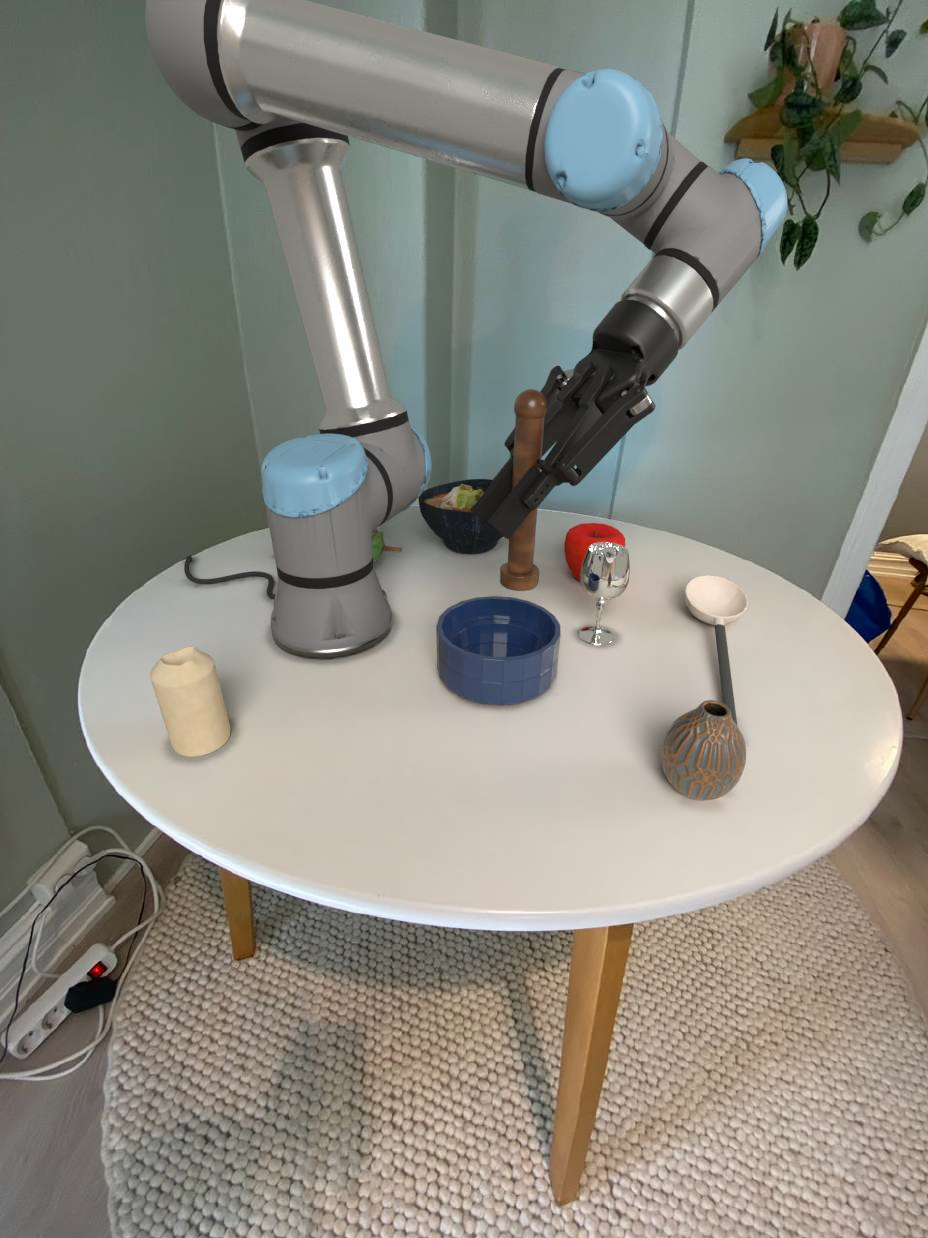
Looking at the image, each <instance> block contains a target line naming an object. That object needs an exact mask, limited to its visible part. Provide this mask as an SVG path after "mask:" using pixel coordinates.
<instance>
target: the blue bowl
mask: <svg viewBox="0 0 928 1238" xmlns="http://www.w3.org/2000/svg"><path fill="white" fill-rule="evenodd" d="M435 627H436V628H435V630H436V632H435V633H436V669H437V674H438V677H439V679H440V681H441V682H442V683H443V684H444V685H445V687H446V688H447V689H448V690H450V691H451V692H453V693H454V694H456V695H458V696H459V697H461V698H463V699H466V700H470V701H473V702H476V703H479V704H484V705H485V704H486V705H496V706H497V705H498V706H503V705H512V704H513V705H514V704H520V703H524V702H527V701H530V700H533V699H537V698H538V697H540V696H541V695H543V694H544V693H545V692H546V691H548V690H549V689H550V688H551V687H552V685H553V684H554V681H555V680H556V679H557V672H558V661H559V652H560V643H561V635H562V634H561V624H560V622H559V621H558V619H557V617H556V616H555V615H554V614H553V613H552V612H551V611H549V610H548V609H546V608H545V607H543V606H541V605H539V604H536V603H534V602H532V601H529V600H525V599H522V598H518V597H511V596H499V595H498V596H497V595H490V596H489V595H488V596H481V597H480V596H477V597H472V598H468V599H465V600H461V601H459V602H457V603H454V604H453V605H451V606H449V607H448V608H446V609H445V610H444V611H443V612H442V613H441V614H440V615H439V616H438V619H437V623H436V626H435Z"/></svg>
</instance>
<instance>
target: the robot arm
mask: <svg viewBox="0 0 928 1238" xmlns="http://www.w3.org/2000/svg"><path fill="white" fill-rule="evenodd" d="M144 18H145V21H144V22H145V31H146V36H147V40H148V44H149V49H150V52H151V54H152V57H153V59H154V62H155V64H156V67H157V68H158V70H159V73H160V74H161V76H162V78H163V79H164V82H165V83H166V84H167V85H168V87H169V89H171V91H172V92H173V94H174V95H175V96H176V97H177V98H178V99H179V100H180V101H181V102H182V103H183V104H184V105H185V106H186V107H187V108H188V109H190V110H191V111H192V112H194V113H195V114H196V115H197V116H199V117H202V118H204V119H206V120H207V121H209V122H211V123H214V124H216V125H220V126H222V127H225V128H229V129H232V130H234V132H235V134H236V138H237V141H238V145H239V149H240V153H241V156H242V159H243V162H244V166H245V170H246V171H247V172H248V174H250V175H251V176H253V177H254V178H255V179H257V180H258V181H259V182H261V183H262V185H263V186H264V187H265V191H266V195H267V197H268V200H269V205H270V209H271V212H272V216H273V220H274V223H275V227H276V230H277V235H278V238H279V241H280V245H281V249H282V253H283V256H284V261H285V263H286V267H287V272H288V275H289V279H290V283H291V286H292V290H293V294H294V298H295V301H296V306H297V309H298V312H299V316H300V319H301V320H300V321H301V323H302V326H303V330H304V334H305V339H306V342H307V346H308V349H309V353H310V357H311V360H312V364H313V368H314V372H315V375H316V379H317V382H318V386H319V389H320V393H321V397H322V401H323V404H324V408H325V410H324V413H323V415H322V418H321V419H320V421H319V423H318V425H317V427H318V431H319V433H315V434H314V433H313V434H309V435H307V436H305V437H295V438H292V439H289V440H287V441H284V442H281V443H280V444H278V445H276V446H275V447H273V448H272V449H270V450H269V452H268V453H267V454H266V455H265V457H264V458H263V461H262V463H261V479H262V480H261V481H262V486H261V495H262V499H263V502H264V505H265V511H266V517H267V522H268V527H269V534H270V540H271V545H272V550H273V556H274V561H275V562H274V563H275V567H276V573H277V584H276V589H275V593H273V587H274V577H273V576H272V575H271V573H268V572H264V571H258V570H257V571H255V570H253V571H244V572H239V573H234V574H229V575H225V576H219V577H214V578H199V577H194V575H192V573H191V570H190V567H191V562H192V559H193V556H192V555H187V556H186V558H185V560H184V565H183V567H184V568H183V570H184V574H185V576H186V578H187V579H188V580H189V581H190V582H192V583H195V584H198V585H199V584H200V585H211V584H219V583H224V582H229V581H233V580H238V579H242V578H248V577H262V578H265V579H267V581H268V582H267V587H266V596H267V597H268V598H269V599H271V600H273V605H272V606H273V608H272V611H271V615H270V631H271V637H272V639H273V642H274V643H275V645H276V646H277V647H278V648H279V649H280V650H282V651H284V652H285V653H288V654H289V655H293V656H295V657H299V658H303V659H312V660H334V659H341V658H347V657H351V656H354V655H358V654H360V653H363V652H366V651H368V650H371V649H372V648H374V647H376V646H378V645H379V644H380V643H382V642H383V641H384V640H386V638H387V637H388V635H389V634H390V632H391V629H392V628H393V614H392V610H391V606H390V602H389V601H388V598H389V597H388V595H387V592H386V590H384V589H383V588H382V585H381V582H380V581H379V578H378V576H377V573H376V571H375V563H374V561H373V548H372V532H373V531H374V530H378V529H379V528H380V527H381V526H382V525H384V524H385V523H387V522H389V521H390V520H391V519H392V518H394V517H395V516H397V515H399V514H400V513H401V512H404V511H406V510H407V509H409V508H410V507H411V506H412V505H414V503H415V502H416V501H417V500H418V499H419V498H418V497H419V496H420V495H421V494H422V493H423V492H424V491H425V490H426V489H427V486H428V484H429V482H430V480H431V474H432V467H433V466H432V464H433V463H432V455H431V452H430V448H429V446H428V443H427V441H426V439H425V438H424V437H423V435H422V434H421V433H420V432H418V431H417V430H416V429H415V427H414V426H412V425H411V423H410V418H409V415H408V410H407V407H406V405H404V404H403V403H401V402H400V401H399V400H398V399H396V398H394V397H393V395H392V392H391V388H390V383H389V378H388V374H387V369H386V365H385V360H384V356H383V351H382V347H381V343H380V338H379V334H378V333H379V332H378V329H377V325H376V319H375V316H374V312H373V307H372V302H371V298H370V294H369V290H368V285H367V280H366V275H365V271H364V267H363V261H362V258H361V257H362V256H361V254H360V248H359V244H358V239H357V236H356V235H357V234H356V231H355V227H354V226H355V225H354V222H353V217H352V212H351V207H350V204H349V199H348V194H347V189H346V185H345V181H344V176H343V171H344V167H345V166H346V164H347V162H348V160H349V158H350V157H351V154H352V149H351V144H350V139H349V137H351V138H353V139H357V140H360V141H364V142H368V143H370V144H374V145H377V146H381V147H383V148H387V149H391V150H393V151H397V152H400V153H404V154H407V155H410V156H414V157H417V158H420V159H425V160H427V161H431V162H434V163H437V164H440V165H443V166H448V167H451V168H454V169H458V170H461V171H463V172H467V173H471V174H474V175H478V176H481V177H485V178H487V179H490V180H494V181H497V182H501V183H505V184H507V185H511V186H515V187H518V188H520V189H524V190H528V191H530V192H534V193H537V194H538V195H542V196H544V197H547V198H552V199H555V200H558V201H562V202H564V203H568V204H571V205H572V206H576V207H577V208H580V209H583V210H584V209H585V210H589V211H590V212H591V211H592V212H596V213H598V214H600V215H603V216H605V217H608V218H610V220H612V221H614V223H616V224H617V225H619V226H620V227H621V228H622V229H624V230H625V231H626V232H627V233H629V234H630V235H631V236H632V237H634V238H635V239H636V240H638V242H640V243H641V244H642V245H643V246H644V247H645V248H647V249H648V250H649V251H651V252H652V253H653V254H654V255H653V256H652V258H651V259H650V260H649V261H648V262H647V264H646V265H645V266H644V267H643V269H642V270H640V272H639V273H638V274H637V276H636V277H635V278H634V280H632V282H631V283H630V284H629V285H628V286H627V288H626V289H625V290H624V291H623V293H622V294H621V297H620V300H619V301H617V302H616V303H614V305H613V306H612V307H611V308H610V310H609V311H608V312H607V313H606V315H605V316H604V317H603V318H602V320H601V321H600V322H599V324H598V325H597V326H596V327H595V328H594V330H593V332H592V343H591V344H592V346H591V350H590V352H589V353H588V354H586V355H585V356H584V357H583V358H581V359H580V360H579V361H578V362H577V363H576V364H575V366H574V368H570V369H568V370H563V368H562V367H561V366H560V365H556V366H554V367H552V368H551V369H550V371H549V374H548V376H547V379H546V381H545V384H544V385H543V387H542V388H541V389H540V392H541V393H542V394H543V395H544V396H545V398H546V400H547V404H548V409H547V413H546V415H545V419H544V432H543V444H542V457H544V456H545V455H546V453H548V454H547V455H546V457H545V458H544V459H542V458H541V459H537V460H536V464H537V466H538V467H539V468H540V469H541V470H540V471H539V470H538V469H537V468H536V467H533V466H532V467H531V468H530V469H529V470H528V472H527V473H526V474H525V475H524V476H523V478H522V479H521V480H520V481H519V483H518V484H517V485H516V486H515V488H514V489H513V490H512V475H513V457H514V439H515V427H514V428H513V429H512V430H511V432H510V434H509V435H508V437H507V438H506V439H505V441H504V443H503V444H504V447H505V448H506V449H507V451H508V452H509V458H508V460H507V461H506V463H504V465H503V466H502V467H501V468H500V470H499V471H498V472H497V473H496V474H495V476H494V477H493V478H492V479H491V480H492V482H491V485H490V486H489V487H488V488H487V490H486V491H485V492H484V493H483V495H482V496H481V497H480V498H479V500H478V501H477V502H476V503H475V505H474V506H473V507H472V508H471V511H472V512H473V513H474V514H475V515H476V516H477V517H478V518H479V519H480V520H481V521H482V522H483V523H484V524H486V525H487V526H488V527H490V528H491V526H493V527H494V528H495V529H496V530H497V531H498V532H499V533H500V534H501V535H502V536H503V537H502V538H505V539H506V540H509V538H510V537H511V535H512V534H513V533H514V532H515V530H516V529H517V528H518V527H519V525H520V524H521V523H522V522H523V521H524V519H525V518H526V517H527V516H528V514H529V513H530V512H531V511H534V510H535V509H536V508H537V509H538V508H539V507H540V505H541V504H542V503H543V502H544V501H545V499H546V498H547V497H548V496H549V495H550V493H551V492H552V491H553V490H554V488H556V487H559V486H561V485H562V484H569V485H570V486H572V487H576V486H577V485H579V484H580V483H581V482H582V481H583V480H584V479H585V478H586V477H587V475H589V473H590V472H591V471H592V470H593V469H595V467H596V466H597V465H598V464H599V463H600V462H601V461H602V460H603V459H604V458H605V457H606V456H607V454H608V453H609V452H610V451H611V450H613V448H614V447H615V446H616V445H617V444H618V443H619V442H620V441H621V439H623V438H624V436H625V435H626V434H627V433H629V431H630V430H631V429H632V428H633V427H634V426H635V425H636V424H638V423H639V422H640V421H642V420H643V419H645V418H646V417H648V416H650V414H652V413H653V412H654V411H655V409H656V407H657V406H656V404H655V401H654V400H653V399H652V397H651V395H650V393H649V392H648V390H647V389H646V387H649V386H652V385H654V384H656V382H657V381H658V380H659V379H660V378H661V377H662V375H663V374H664V373H665V372H666V370H667V369H668V368H669V367H670V365H671V364H672V363H673V361H674V360H675V359H676V358H677V356H678V354H679V351H680V350H682V349H683V348H684V347H685V346H686V345H687V344H688V343H689V342H690V340H691V339H692V338H693V336H694V335H695V334H696V333H697V331H698V330H699V329H700V328H701V327H702V325H703V324H704V323H705V321H706V320H707V319H708V318H709V317H710V316H711V315H712V313H713V312H714V311H715V310H716V308H717V307H718V306H719V305H720V304H721V302H722V301H723V300H724V299H725V298H726V296H727V295H728V294H729V293H730V292H731V290H733V288H734V287H735V286H736V285H737V283H738V282H739V281H740V280H741V279H742V277H743V276H744V275H745V274H746V273H747V272H748V270H749V269H750V268H751V267H752V265H753V264H754V263H755V262H756V261H757V259H758V258H759V256H760V255H762V253H763V251H764V250H765V248H766V247H767V246H768V244H769V243H770V242H771V240H772V239H773V238H774V236H775V235H776V234H777V233H778V231H779V229H780V228H781V226H782V224H783V223H784V220H785V218H786V215H787V211H788V194H787V190H786V187H785V184H784V182H783V180H782V178H781V177H780V176H779V174H778V173H777V172H776V171H775V170H774V169H773V168H772V167H771V166H770V165H768V164H766V163H765V162H763V161H761V162H754V161H753V160H752V158H740V159H736V160H734V161H732V162H729V163H728V164H727V165H726V166H725V167H724V168H723V169H721V170H720V171H718V172H717V170H715V169H714V167H711V166H710V165H707V163H706V162H704V161H701V160H700V159H699V158H698V157H697V156H696V155H695V154H694V153H693V152H691V151H690V150H689V149H688V148H687V147H685V146H684V145H683V143H681V141H679V140H678V139H677V138H676V137H674V136H673V135H672V134H671V132H669V131H668V130H667V127H666V126H665V124H664V122H663V121H662V118H661V114H660V111H659V107H658V105H657V103H656V100H655V98H654V97H653V95H652V93H651V92H650V90H649V89H646V88H645V87H644V85H643V84H642V82H641V81H640V80H638V79H636V78H635V77H632V76H631V75H629V74H628V73H626V72H624V71H622V70H618V69H616V68H615V69H614V68H599V69H596V70H593V71H589V72H587V73H585V72H581V71H577V70H571V69H565V68H561V67H560V66H558V65H554V64H551V63H546V62H543V61H538V60H535V59H531V58H527V57H523V56H519V55H516V54H512V53H508V52H505V51H500V50H496V49H492V48H489V47H486V46H481V45H478V44H474V43H469V42H466V41H463V40H458V39H454V38H451V37H447V36H443V35H439V34H435V33H431V32H428V31H425V30H424V31H423V30H420V29H417V28H412V27H408V26H405V25H402V24H397V23H393V22H390V21H386V20H382V19H378V18H374V17H370V16H367V15H363V14H360V13H355V12H352V11H348V10H344V9H340V8H336V7H332V6H328V5H325V4H321V3H317V2H313V1H310V0H145V9H144ZM575 467H576V468H575Z"/></svg>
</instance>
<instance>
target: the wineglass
mask: <svg viewBox="0 0 928 1238" xmlns="http://www.w3.org/2000/svg"><path fill="white" fill-rule="evenodd" d="M630 574H631V564H630V554H629V550H628V548H627V547H626V546H625V547H624V546H622V545H619V544H616V543H611V542H598V543H593V544H591V545H590V546H589V548H588V550H587V552H586V555H585V558H584V561H583V564H582V568H581V574H580V581H579V582H580V585H581V588H582V590H583V591H584V593H586V595H588V596H589V597H591V598H593V599H596V600H597V601H596V604H595V607H596V619H595V620H596V621H595V625H591V626H585V627H583V628H581V629H580V630H579V631H578V637H579V639H580V640H581V641H583V642H585V643H586V644H590V645H592V646H593V645H594V646H605V645H609V644H611V643H612V642H613V641H614V640H615V636H614V633H612V632H611V630H609V629H607V628H604V627H602V626H600V625H601V624H600V623H601V618H602V614H603V610H604V609H605V606H606V602H605V601H609V600H614V599H616V598H618V597H621V595H622V594H623V593H625V591H626V589H627V588H628V585H629V582H630Z"/></svg>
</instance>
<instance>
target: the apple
mask: <svg viewBox="0 0 928 1238" xmlns="http://www.w3.org/2000/svg"><path fill="white" fill-rule="evenodd" d="M598 542H611V543H616V544H619V545H622V546H624V547H626V538H625V536H624V533H622V531H620V530H619V529H618V528H616V527H614V526H612V525H610V524H606V523H600V522H587V523H586V522H585V523H579V524H576V525H575V526H572V527H571V528H569V529H568V530H567V533H566V535H565V539H564V543H563V547H564V548H563V549H564V550H563V551H564V558H565V562H566V565H567V567H568V569H569V571H570V573H571V575H572V577H573V578H574V579H576V580H577V581H579V582H581V581H580V574H581V568H582V564H583V561H584V558H585V555H586V552H587V550H588V548H589V546H590V545H591V544H593V543H598Z"/></svg>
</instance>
